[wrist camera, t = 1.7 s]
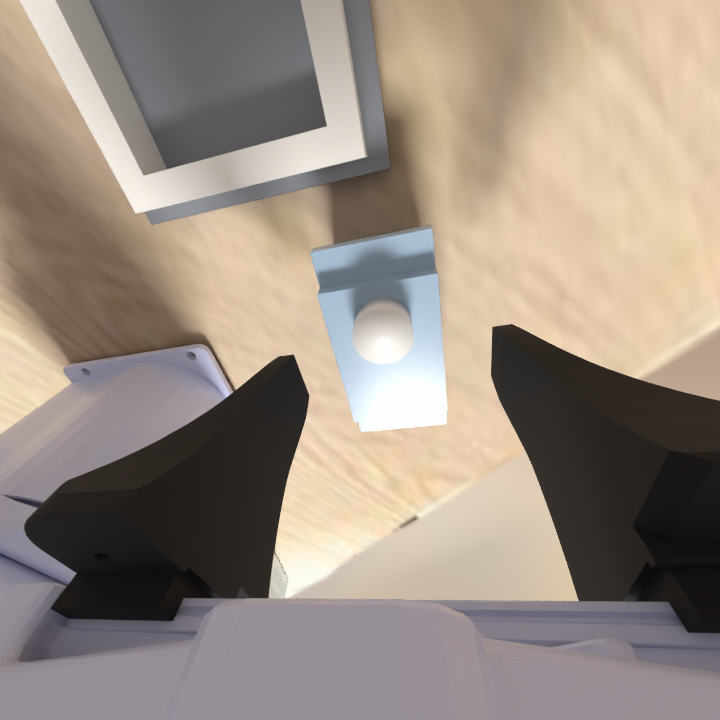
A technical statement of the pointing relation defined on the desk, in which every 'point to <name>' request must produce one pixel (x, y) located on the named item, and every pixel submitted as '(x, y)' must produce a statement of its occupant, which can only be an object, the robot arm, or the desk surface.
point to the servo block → (386, 327)
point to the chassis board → (220, 95)
